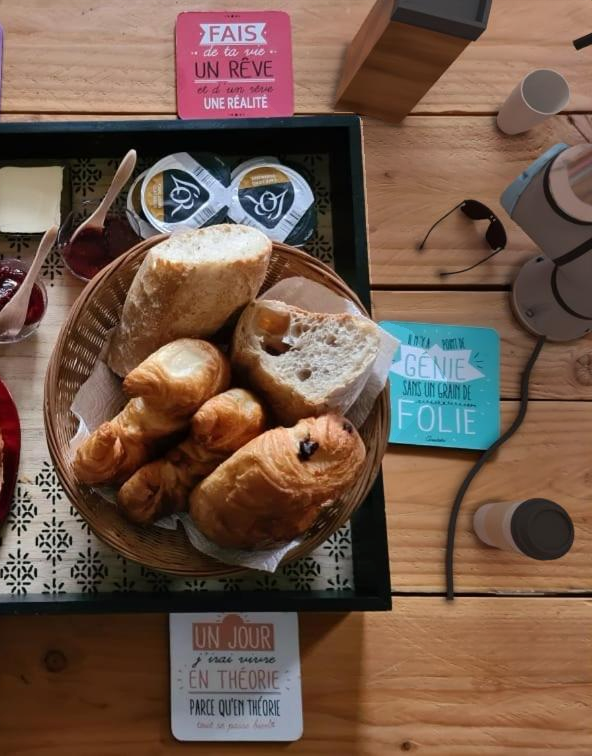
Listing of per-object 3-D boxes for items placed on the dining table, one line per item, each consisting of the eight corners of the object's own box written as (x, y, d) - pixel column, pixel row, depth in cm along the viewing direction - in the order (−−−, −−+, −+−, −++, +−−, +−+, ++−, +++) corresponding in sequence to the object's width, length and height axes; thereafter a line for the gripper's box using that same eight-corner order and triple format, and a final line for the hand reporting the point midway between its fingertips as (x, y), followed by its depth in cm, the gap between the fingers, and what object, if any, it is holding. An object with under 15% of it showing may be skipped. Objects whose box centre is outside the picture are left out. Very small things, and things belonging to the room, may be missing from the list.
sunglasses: (503, 248, 126) (517, 240, 121) (445, 288, 127) (457, 282, 122) (464, 200, 128) (477, 190, 123) (407, 240, 128) (417, 232, 123)
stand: (399, 124, 130) (473, 39, 105) (333, 107, 130) (391, 18, 105) (413, 64, 131) (489, -34, 107) (348, 47, 132) (409, -54, 107)
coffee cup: (485, 562, 119) (542, 573, 104) (455, 512, 120) (508, 516, 105) (532, 536, 119) (595, 543, 105) (502, 487, 121) (561, 487, 106)
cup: (535, 143, 129) (572, 114, 119) (489, 142, 129) (522, 113, 119) (531, 100, 131) (568, 68, 121) (486, 99, 131) (519, 67, 121)
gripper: (780, 103, 106) (605, 160, 120) (736, -52, 109) (572, 22, 124) (778, 87, 100) (596, 150, 115) (733, -75, 104) (561, 5, 118)
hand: (583, 84), depth 119 cm, fingers open, 13 cm apart
